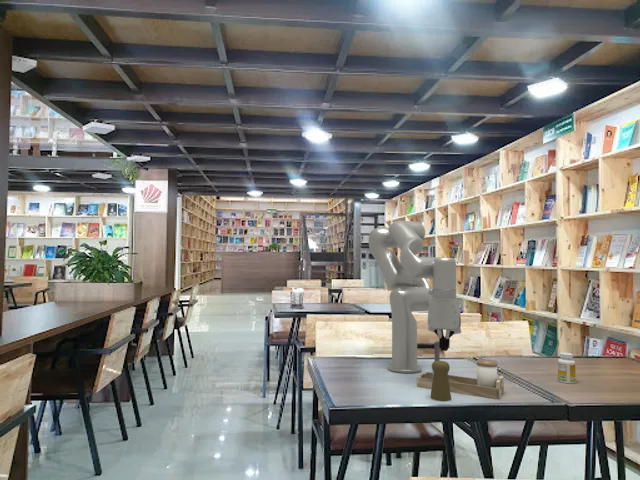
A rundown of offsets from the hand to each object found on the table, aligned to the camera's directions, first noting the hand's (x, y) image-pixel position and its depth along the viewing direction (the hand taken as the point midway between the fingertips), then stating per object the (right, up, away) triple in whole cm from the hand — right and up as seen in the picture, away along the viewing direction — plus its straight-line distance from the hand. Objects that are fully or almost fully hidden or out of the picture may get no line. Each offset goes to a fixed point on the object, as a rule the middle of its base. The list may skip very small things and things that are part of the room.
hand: (444, 350), depth 147 cm
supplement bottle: (+45, -13, +8) cm, 48 cm away
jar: (+11, -12, -8) cm, 18 cm away
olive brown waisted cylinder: (-5, -11, -13) cm, 18 cm away
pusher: (-2, -12, +1) cm, 12 cm away
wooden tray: (+4, -12, -3) cm, 13 cm away
